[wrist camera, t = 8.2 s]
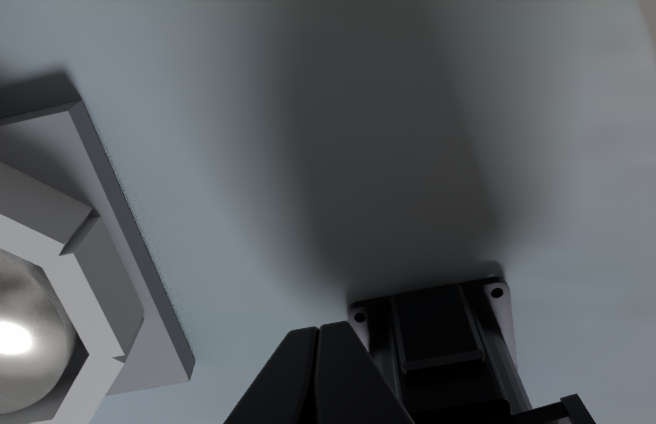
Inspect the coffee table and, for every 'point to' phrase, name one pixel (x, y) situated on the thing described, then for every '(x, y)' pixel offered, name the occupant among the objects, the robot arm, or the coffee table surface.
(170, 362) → the dial panel
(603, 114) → the coffee table surface
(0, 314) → the dial
